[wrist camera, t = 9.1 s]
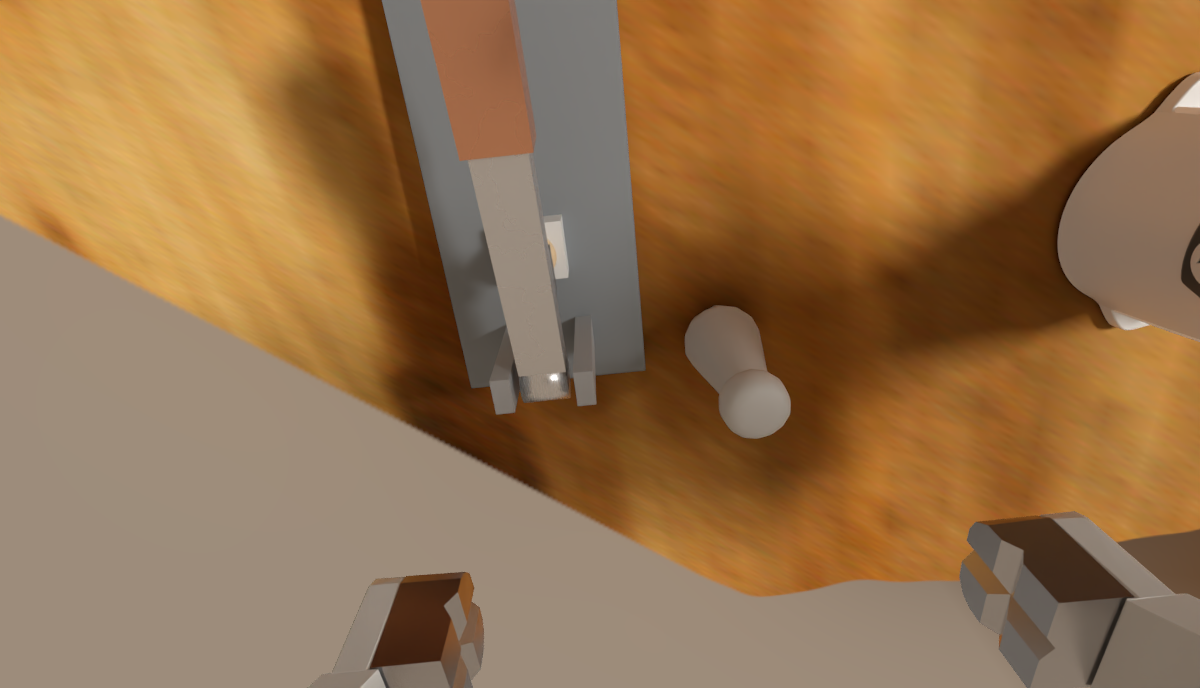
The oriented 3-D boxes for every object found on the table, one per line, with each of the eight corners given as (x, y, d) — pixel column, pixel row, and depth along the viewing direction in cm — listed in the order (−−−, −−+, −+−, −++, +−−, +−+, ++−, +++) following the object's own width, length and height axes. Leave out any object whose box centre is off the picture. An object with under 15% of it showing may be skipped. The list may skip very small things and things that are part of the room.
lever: (575, 373, 40) (575, 407, 37) (524, 378, 40) (520, 412, 37) (503, -79, 25) (494, -80, 22) (421, -69, 25) (402, -69, 22)
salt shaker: (750, 357, 47) (805, 451, 35) (681, 365, 47) (713, 460, 36) (751, 291, 45) (810, 368, 33) (678, 299, 45) (711, 379, 33)
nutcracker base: (643, 359, 47) (658, 435, 37) (475, 376, 47) (446, 456, 37) (611, -45, 35) (621, -91, 25) (387, -18, 35) (309, -54, 25)
